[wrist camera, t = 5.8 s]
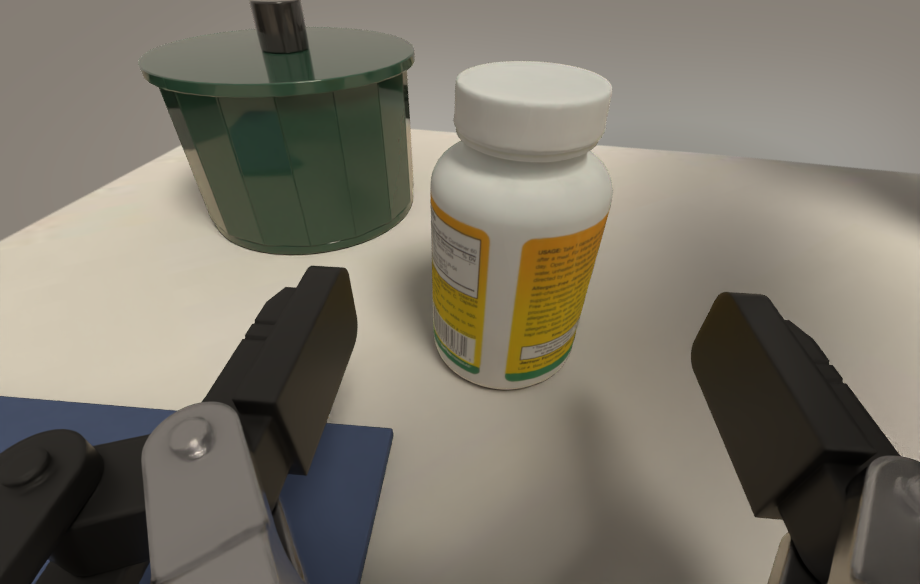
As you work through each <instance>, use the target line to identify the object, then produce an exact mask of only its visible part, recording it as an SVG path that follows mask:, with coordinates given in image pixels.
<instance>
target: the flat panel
mask: <svg viewBox="0 0 920 584" xmlns="http://www.w3.org/2000/svg"><path fill="white" fill-rule="evenodd" d="M175 412H177V411H174V410H162V409H150V408H138V407H126V406H114V405H102V404H90V403H77V402H65V401H53V400H41V399H29V398H17V397H5V396H0V453H2V452H3V451H5V450H6V449H7V448H9V447H11V446H12V445H14V444H16V443H17V442H19V441H21V440H23V439H25V438H27V437H30V436H32V435H35V434H37V433H41V432H44V431H49V430H54V429H69V430H73V431H76V432H78V433H79V434H81V435H82V436H83V437H84V438H85V439H86V440H87V441H88V442H89V443H90V444H91V445H92V446H95V445H99V444H104V443H109V442H114V441H119V440H124V439H129V438H134V437H138V436H143V435H148V434H151V433H152V432H153V430H154V429H155V428H156V427H157V426H158V425H159V424H160V423H161V422H162V421H163V420H165V419H166V418H167V417H169V416H170V415H172V414H173V413H175ZM392 439H393V430H392V429H391V428H380V427H367V426H355V425H343V424H331V423H326V425H325V427H324V430H323V433H322V436H321V438H320V441H319V444H318V447H317V449H316V452H315V455H314V458H313V460H312V463H311V466H310V469H309V471H308V474H307V476H304V475H293V474H288V475H287V477H286V480H285V482H284V485H283V487H282V490H281V492H280V495H281V498H282V501H283V504H284V507H285V510H286V513H287V516H288V519H289V522H290V526H291V529H292V532H293V535H294V538H295V541H296V544H297V547H298V550H299V553H300V556H301V560H302V563H303V566H304V569H305V572H306V575H307V578H308V581H309V584H360V581H361V577H362V572H363V568H364V563H365V559H366V555H367V550H368V546H369V541H370V537H371V532H372V528H373V524H374V519H375V515H376V510H377V506H378V501H379V497H380V493H381V488H382V484H383V479H384V475H385V470H386V466H387V462H388V457H389V453H390V448H391V444H392ZM49 562H50V560H47V561H46V562H45V564H44V565H43V567H42V568H41V570H40V571H39V573H38V574H37V576H36V577H35V579H34V580H33V582H32V583H31V584H35V583H36V581H37V580H38V578H39V577H40V575H41V574H42V572H43V571H44V569H45V568H46V566H47V565H48V563H49ZM150 581H151V566H150V563H149V565H148V567H147V569H146V571H145V573H144V575H143V577H142V579H141V581H140V582H139V584H150Z"/></svg>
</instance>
